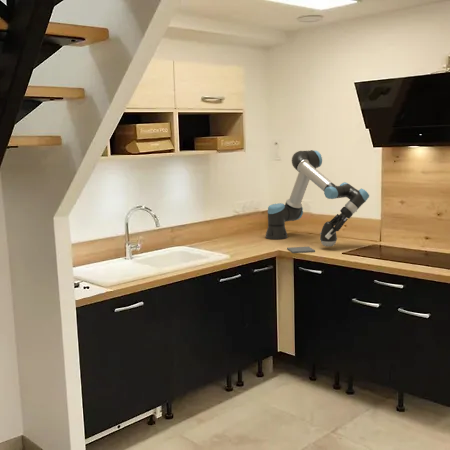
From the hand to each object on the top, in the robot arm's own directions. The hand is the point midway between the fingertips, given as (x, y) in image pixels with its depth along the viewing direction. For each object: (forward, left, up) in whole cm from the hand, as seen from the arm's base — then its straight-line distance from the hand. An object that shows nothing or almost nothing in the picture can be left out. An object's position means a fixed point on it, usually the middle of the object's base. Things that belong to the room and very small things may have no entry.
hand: (323, 236), depth 358 cm
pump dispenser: (0, +3, -6) cm, 7 cm away
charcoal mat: (+1, -15, -8) cm, 17 cm away
